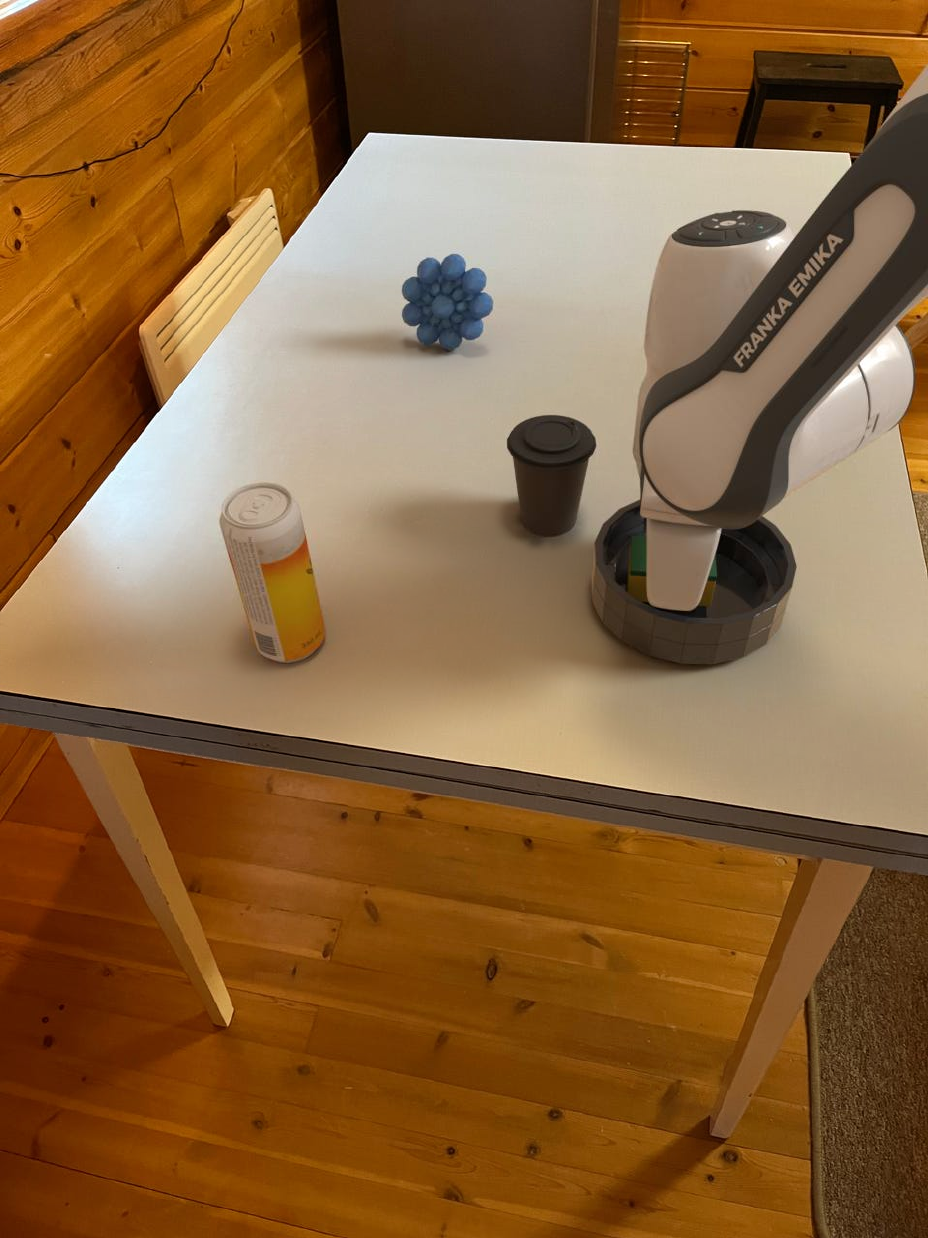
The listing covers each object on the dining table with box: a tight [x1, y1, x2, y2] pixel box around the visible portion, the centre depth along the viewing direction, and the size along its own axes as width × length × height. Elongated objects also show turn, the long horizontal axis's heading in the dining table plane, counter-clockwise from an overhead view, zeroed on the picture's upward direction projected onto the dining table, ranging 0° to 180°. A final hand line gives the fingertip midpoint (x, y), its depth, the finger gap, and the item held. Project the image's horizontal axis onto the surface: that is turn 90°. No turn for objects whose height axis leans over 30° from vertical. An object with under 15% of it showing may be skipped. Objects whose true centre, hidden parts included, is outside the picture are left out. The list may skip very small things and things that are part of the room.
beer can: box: [218, 481, 326, 664], centre depth 74 cm, size 6×6×15 cm
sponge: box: [627, 536, 717, 607], centre depth 79 cm, size 7×4×4 cm, turn 82°
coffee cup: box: [506, 414, 597, 537], centre depth 86 cm, size 8×8×10 cm
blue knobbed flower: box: [401, 253, 494, 351], centre depth 110 cm, size 12×7×12 cm, turn 70°
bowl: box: [591, 499, 798, 665], centre depth 79 cm, size 16×16×6 cm
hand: (671, 572), depth 79 cm, fingers closed on sponge, 4 cm apart
